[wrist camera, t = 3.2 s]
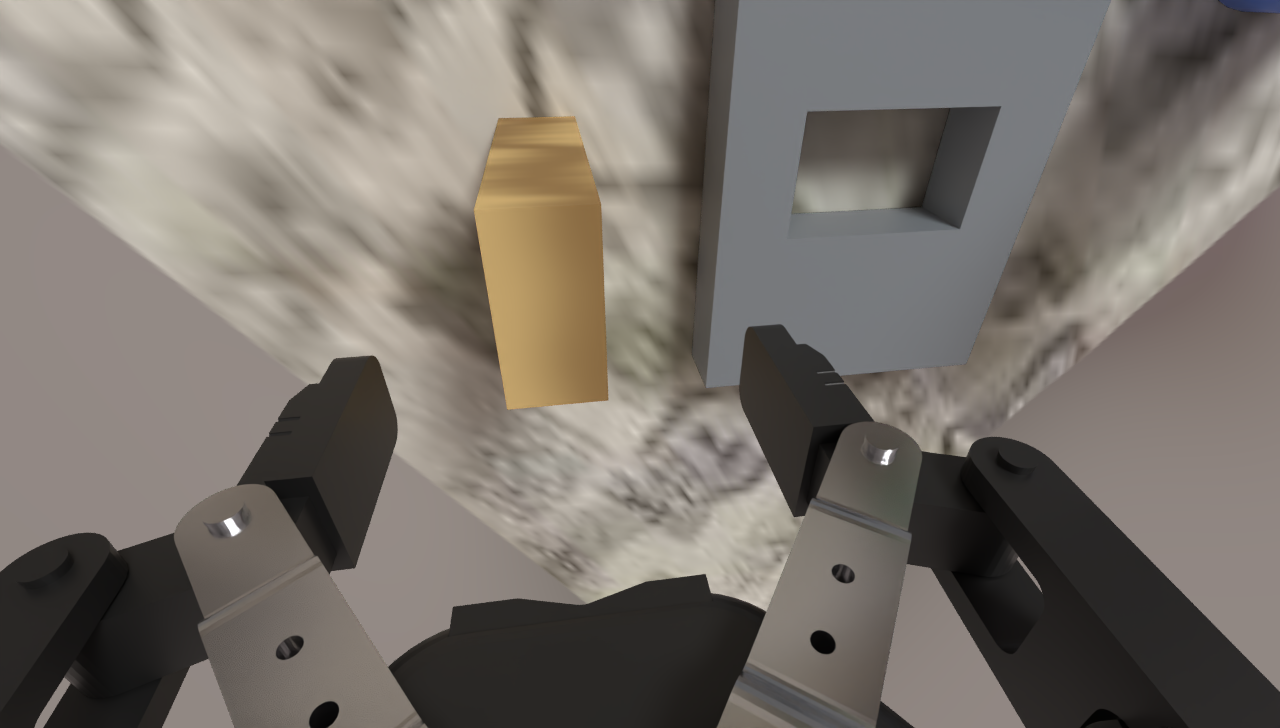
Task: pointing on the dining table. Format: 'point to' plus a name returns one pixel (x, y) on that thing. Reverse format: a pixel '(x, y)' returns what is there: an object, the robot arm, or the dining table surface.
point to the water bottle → (1253, 5)
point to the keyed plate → (883, 238)
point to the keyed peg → (544, 263)
